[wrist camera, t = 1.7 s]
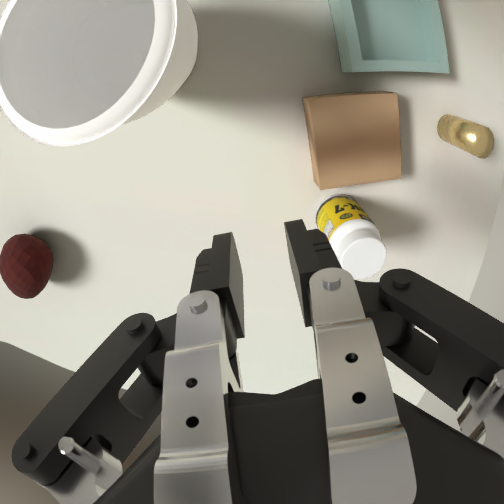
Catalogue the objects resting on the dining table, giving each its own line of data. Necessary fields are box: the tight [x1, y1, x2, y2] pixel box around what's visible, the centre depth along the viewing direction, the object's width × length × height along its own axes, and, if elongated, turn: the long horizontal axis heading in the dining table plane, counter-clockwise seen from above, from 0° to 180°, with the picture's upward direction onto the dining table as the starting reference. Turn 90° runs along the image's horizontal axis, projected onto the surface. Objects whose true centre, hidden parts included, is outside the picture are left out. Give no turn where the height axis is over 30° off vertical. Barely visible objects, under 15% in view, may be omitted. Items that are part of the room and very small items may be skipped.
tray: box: [328, 0, 450, 74], centre depth 19 cm, size 10×10×3 cm
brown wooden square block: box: [302, 91, 401, 190], centre depth 26 cm, size 8×8×3 cm
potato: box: [0, 234, 53, 299], centre depth 29 cm, size 7×8×6 cm
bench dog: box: [437, 114, 494, 158], centre depth 23 cm, size 3×3×6 cm
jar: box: [0, 0, 198, 146], centre depth 15 cm, size 11×10×15 cm
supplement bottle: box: [315, 194, 387, 279], centre depth 27 cm, size 5×5×8 cm
